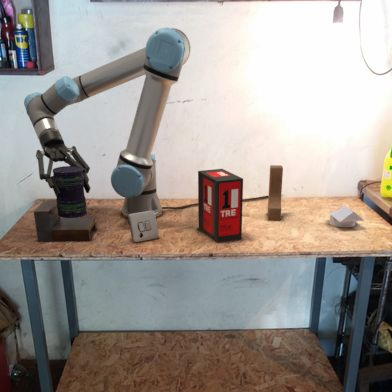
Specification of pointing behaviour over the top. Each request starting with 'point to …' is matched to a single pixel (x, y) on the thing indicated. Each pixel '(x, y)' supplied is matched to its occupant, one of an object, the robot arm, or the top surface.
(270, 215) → the wooden block
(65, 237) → the l-shaped metal base
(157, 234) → the electrical switch
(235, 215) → the cleaning product box
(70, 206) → the blue oil drum
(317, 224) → the top surface
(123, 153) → the robot arm
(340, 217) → the wedge on round base
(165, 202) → the top surface
